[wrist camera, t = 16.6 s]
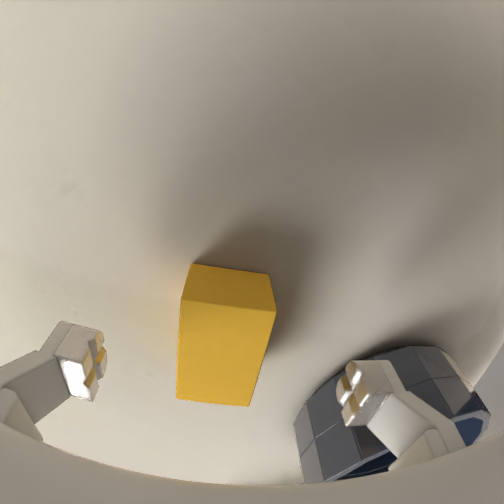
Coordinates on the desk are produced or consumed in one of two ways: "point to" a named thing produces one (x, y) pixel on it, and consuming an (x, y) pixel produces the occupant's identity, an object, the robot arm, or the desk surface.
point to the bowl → (362, 438)
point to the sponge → (223, 334)
